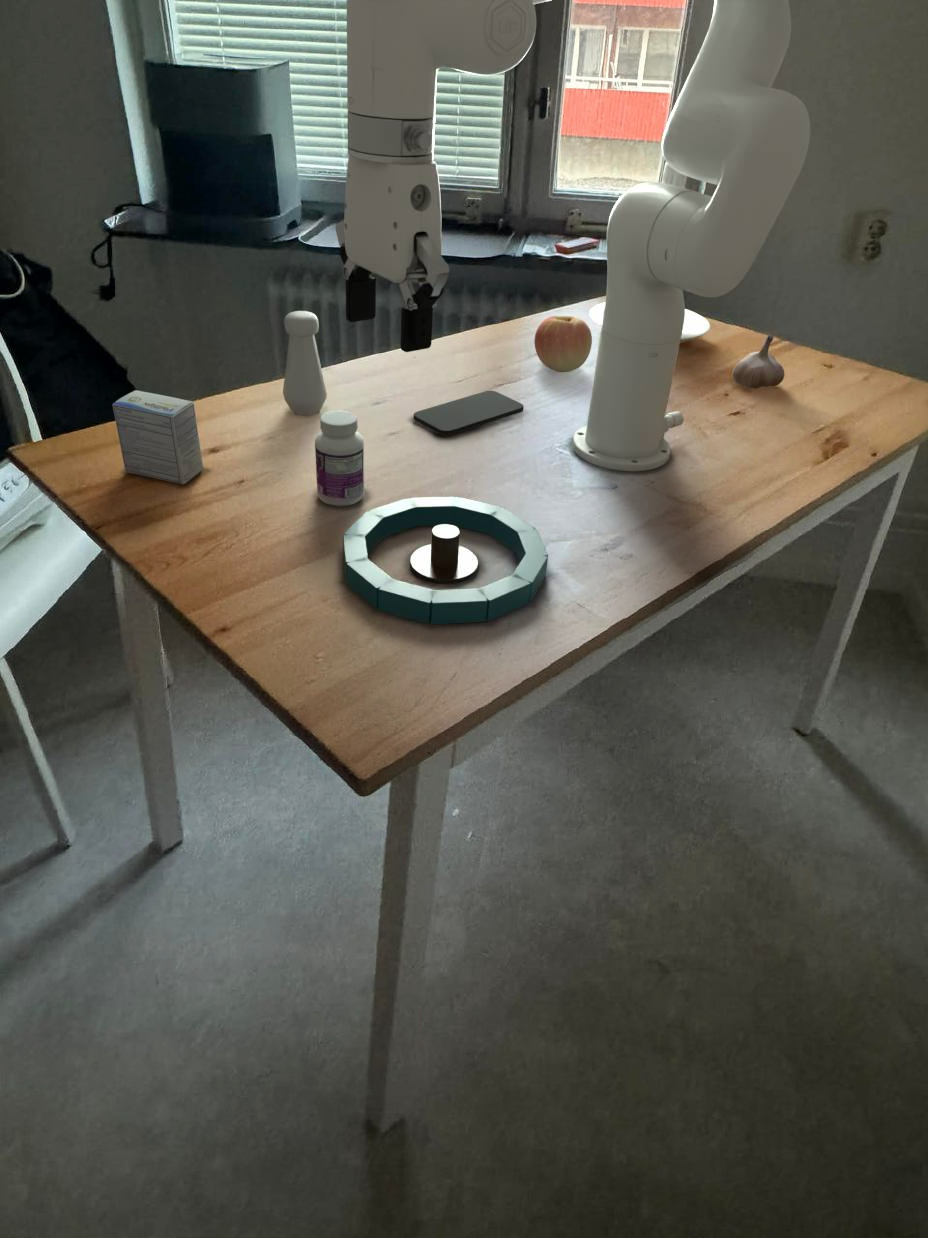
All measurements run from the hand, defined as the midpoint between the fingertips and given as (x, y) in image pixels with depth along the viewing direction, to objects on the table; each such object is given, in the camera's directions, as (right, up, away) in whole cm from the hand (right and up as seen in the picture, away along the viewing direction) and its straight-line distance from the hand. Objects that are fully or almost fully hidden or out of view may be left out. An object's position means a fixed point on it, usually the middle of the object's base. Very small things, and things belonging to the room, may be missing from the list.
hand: (387, 333), depth 87 cm
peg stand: (+6, -23, +4) cm, 23 cm away
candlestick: (+38, +20, +65) cm, 78 cm away
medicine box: (-27, -11, +16) cm, 34 cm away
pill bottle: (-7, -14, +14) cm, 21 cm away
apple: (+23, +11, +52) cm, 57 cm away
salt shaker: (-14, 0, +33) cm, 36 cm away
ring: (+6, -23, +4) cm, 23 cm away
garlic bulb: (+53, +8, +51) cm, 74 cm away
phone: (+8, 0, +35) cm, 35 cm away
